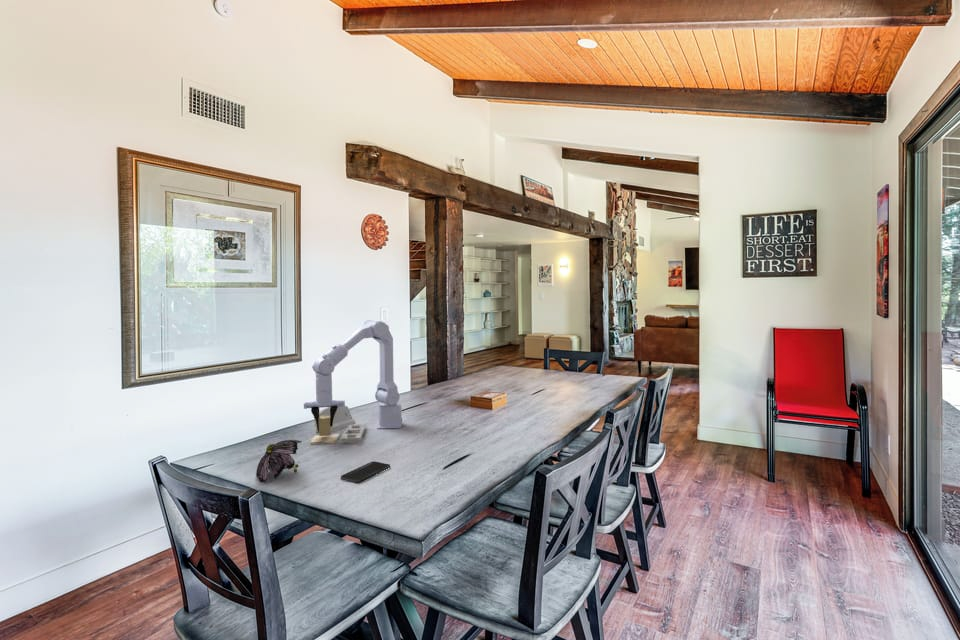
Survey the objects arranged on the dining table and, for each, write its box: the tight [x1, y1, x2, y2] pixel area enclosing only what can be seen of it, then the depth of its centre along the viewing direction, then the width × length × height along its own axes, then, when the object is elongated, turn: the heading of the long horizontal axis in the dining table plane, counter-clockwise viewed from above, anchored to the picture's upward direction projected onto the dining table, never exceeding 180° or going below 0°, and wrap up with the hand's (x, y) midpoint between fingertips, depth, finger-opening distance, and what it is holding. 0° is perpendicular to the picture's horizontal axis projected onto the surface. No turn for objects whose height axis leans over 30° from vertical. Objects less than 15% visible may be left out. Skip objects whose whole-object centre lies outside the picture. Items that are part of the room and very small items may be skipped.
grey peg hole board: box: [340, 423, 367, 444], centre depth 191 cm, size 7×18×2 cm, turn 6°
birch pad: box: [310, 433, 341, 445], centre depth 186 cm, size 9×9×1 cm
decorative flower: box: [255, 439, 303, 483], centre depth 152 cm, size 14×12×15 cm
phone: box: [340, 461, 391, 484], centre depth 153 cm, size 8×1×15 cm
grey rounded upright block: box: [313, 405, 356, 433], centre depth 202 cm, size 17×5×10 cm, turn 147°
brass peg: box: [318, 415, 332, 436], centre depth 185 cm, size 4×4×6 cm
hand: (325, 426), depth 186 cm, fingers closed on brass peg, 4 cm apart
